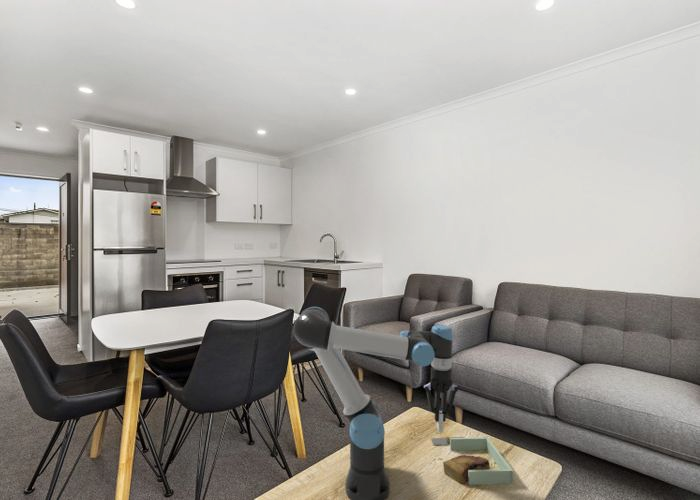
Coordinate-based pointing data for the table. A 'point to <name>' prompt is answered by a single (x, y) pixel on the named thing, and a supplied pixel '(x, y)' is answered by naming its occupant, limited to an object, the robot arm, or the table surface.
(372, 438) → the robot arm
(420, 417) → the table surface
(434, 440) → the trowel
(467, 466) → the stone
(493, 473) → the mint green u-channel
